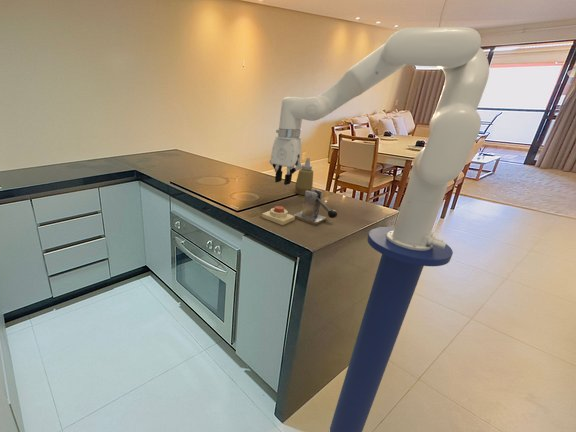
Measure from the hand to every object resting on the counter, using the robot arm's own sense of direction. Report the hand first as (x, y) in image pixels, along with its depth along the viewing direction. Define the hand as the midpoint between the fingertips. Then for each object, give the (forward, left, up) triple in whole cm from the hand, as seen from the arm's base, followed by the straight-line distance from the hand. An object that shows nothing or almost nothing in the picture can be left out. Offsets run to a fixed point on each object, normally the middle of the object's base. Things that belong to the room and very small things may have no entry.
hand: (282, 182), depth 113 cm
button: (0, 0, -12) cm, 12 cm away
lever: (-12, -10, -9) cm, 18 cm away
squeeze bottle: (+11, -36, -15) cm, 41 cm away
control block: (0, 0, -15) cm, 15 cm away
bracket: (-8, -10, -15) cm, 20 cm away
